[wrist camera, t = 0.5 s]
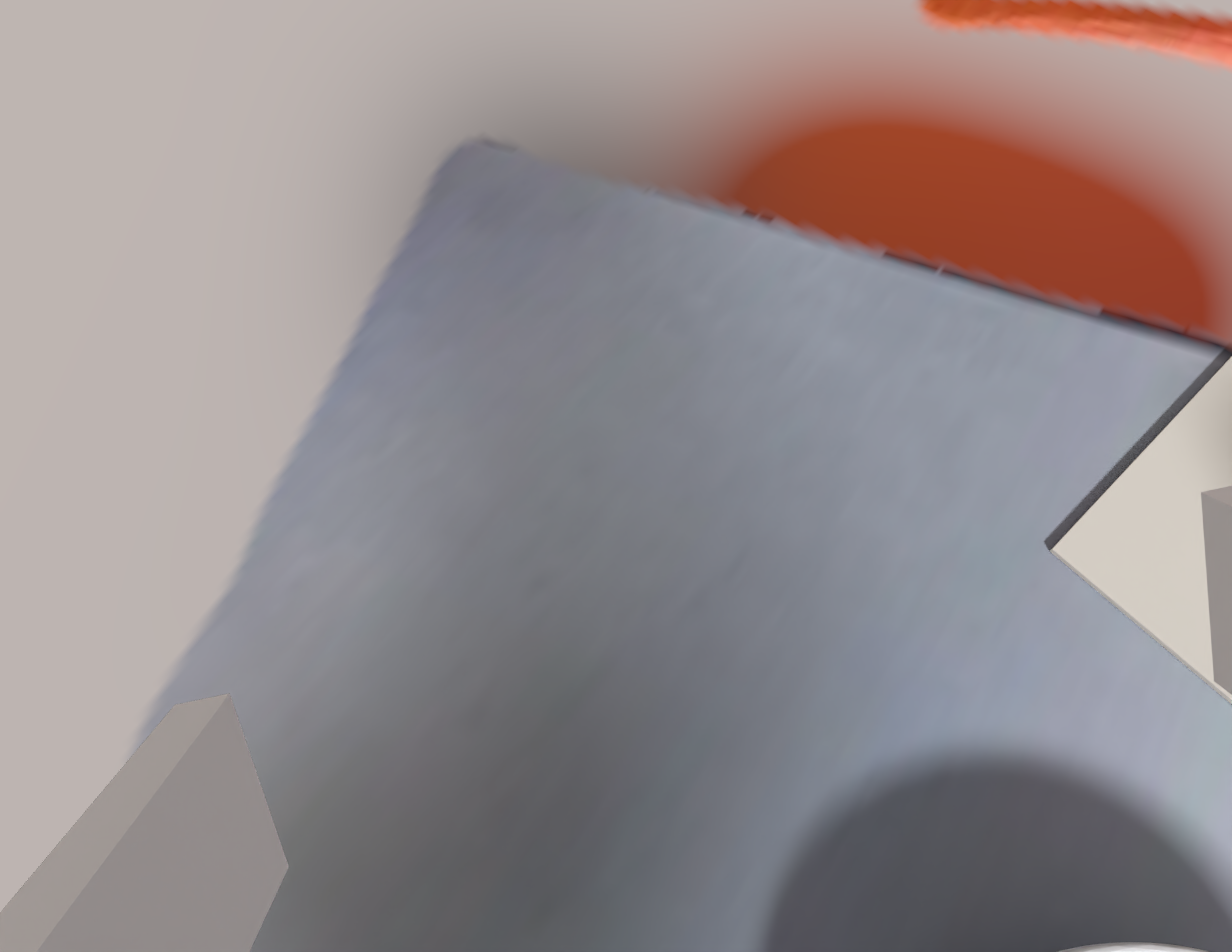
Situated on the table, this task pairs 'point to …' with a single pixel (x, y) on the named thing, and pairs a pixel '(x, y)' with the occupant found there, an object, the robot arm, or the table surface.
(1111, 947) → the serving bowl
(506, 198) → the table surface
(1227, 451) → the mat
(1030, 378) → the table surface
